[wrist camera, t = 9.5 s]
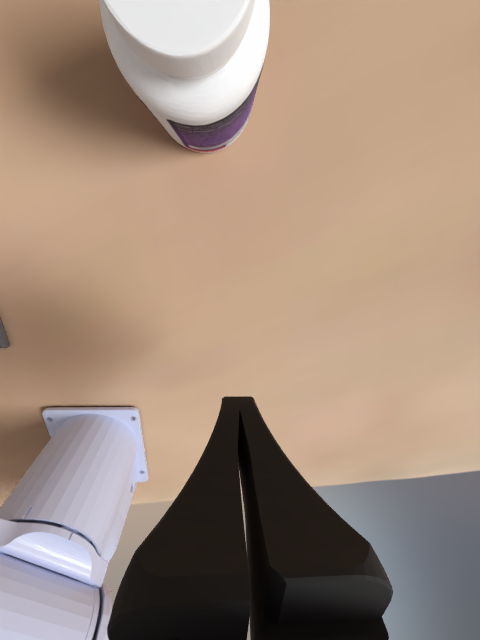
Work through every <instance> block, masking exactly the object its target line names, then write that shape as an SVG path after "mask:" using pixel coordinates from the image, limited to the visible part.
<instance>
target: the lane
mask: <svg viewBox="0 0 480 640" xmlns="http://www.w3.org/2000/svg"><path fill="white" fill-rule="evenodd" d="M9 346H10V343H9V341H8V338H7V335H6V332H5V329H4V327H3V324H2V321H1V318H0V348H7V347H9Z"/></svg>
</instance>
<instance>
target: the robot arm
mask: <svg viewBox="0 0 480 640" xmlns="http://www.w3.org/2000/svg"><path fill="white" fill-rule="evenodd" d="M42 415H43V418H44V421H45V424H46V427H47V429H48V432H49V435H50V438H51V439H50V440H49V441H48V443H47V444H46V446H45V447H44V448H43V450H42V451H41V452H40V454H39V455H38V456H37V458H36V459H35V461H34V462H33V463H32V465H31V466H30V467H29V469H28V470H27V471H26V473H25V474H24V476H23V477H22V478H21V480H20V481H19V482H18V484H17V485H16V486H15V488H14V489H13V491H12V492H11V493H10V495H9V496H8V497H7V499H6V500H5V501H4V503H3V504H2V506H1V507H0V640H108V638H109V640H247V632H248V624H249V617H250V633H251V634H250V635H251V640H388V639H389V636H388V632H387V629H386V627H385V624H384V622H383V619H382V615H383V614H384V612H385V610H386V608H387V607H388V605H389V603H390V601H391V598H392V594H393V590H392V586H391V584H390V581H389V579H388V577H387V574H386V572H385V570H384V568H383V566H382V564H381V563H380V561H379V559H378V557H377V555H376V553H375V552H374V550H373V548H372V546H371V544H370V543H369V542H368V541H366V539H365V538H363V537H362V536H361V535H360V534H359V533H358V532H357V531H355V530H354V529H353V528H352V527H351V526H350V525H348V523H347V522H345V521H344V520H343V519H342V518H341V517H340V516H339V515H338V514H337V513H336V512H335V511H334V510H333V509H332V508H331V507H330V506H329V505H327V503H326V502H325V501H324V500H323V499H322V498H321V497H320V496H319V495H318V494H317V493H316V491H315V490H314V489H313V488H312V487H311V486H310V485H309V484H308V483H307V482H306V480H305V479H304V478H303V477H302V476H301V474H300V473H299V472H298V471H297V469H296V468H295V467H294V466H293V464H292V463H291V462H290V460H289V459H288V458H287V456H286V455H285V454H284V452H283V451H282V449H281V448H280V446H279V445H278V443H277V442H276V440H275V439H274V437H273V435H272V434H271V432H270V430H269V429H268V427H267V425H266V424H265V422H264V420H263V418H262V416H261V414H260V412H259V410H258V408H257V406H256V403H255V401H254V398H253V397H224V398H222V404H221V409H220V413H219V416H218V419H217V422H216V425H215V427H214V430H213V433H212V435H211V437H210V439H209V442H208V444H207V446H206V448H205V450H204V452H203V454H202V456H201V458H200V460H199V462H198V464H197V466H196V467H195V469H194V471H193V473H192V474H191V476H190V478H189V479H188V481H187V482H186V484H185V486H184V487H183V489H182V490H181V492H180V493H179V495H178V496H177V498H176V499H175V501H174V502H173V504H172V505H171V506H170V508H169V509H168V511H167V512H166V513H165V515H164V516H163V517H162V519H161V520H160V522H159V523H158V524H157V525H156V526H155V528H154V529H153V530H152V531H151V533H150V534H149V535H148V536H147V538H146V539H145V540H144V541H143V543H142V544H141V545H140V546H139V547H138V549H137V550H136V551H135V553H134V555H133V557H132V559H131V562H130V564H129V566H128V568H127V570H126V572H125V575H124V577H123V579H122V581H121V584H120V587H119V589H118V592H117V595H116V598H115V601H114V605H113V609H112V597H111V591H110V589H109V587H108V586H107V585H106V584H105V583H103V580H104V576H105V573H106V570H107V567H108V564H109V563H108V562H109V561H110V559H111V558H112V556H113V554H114V552H115V550H116V548H117V545H118V542H119V539H120V536H121V532H122V529H123V526H124V523H125V519H126V516H127V513H128V510H129V507H130V504H131V500H132V497H133V494H134V491H135V488H136V484H137V482H145V481H147V480H148V476H149V475H148V468H147V461H146V455H145V448H144V441H143V435H142V428H141V421H140V415H139V410H138V409H137V408H135V407H53V408H46V409H45V410H44V411H43V412H42ZM132 416H133V417H132ZM134 417H135V418H134ZM238 463H239V464H238ZM239 471H240V478H239ZM240 479H241V486H242V494H243V501H244V510H245V522H246V542H247V551H246V542H245V532H244V522H243V513H242V501H241V490H240ZM111 609H112V610H111Z"/></svg>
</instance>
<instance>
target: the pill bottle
mask: <svg viewBox="0 0 480 640" xmlns="http://www.w3.org/2000/svg"><path fill="white" fill-rule="evenodd" d="M99 2H100V10H101V17H102V22H103V28H104V32H105V35H106V39H107V42H108V45H109V48H110V50H111V53H112V55H113V57H114V60H115V62H116V64H117V66H118V68H119V70H120V72H121V73H122V75H123V77H124V78H125V80H126V81H127V83H128V84H129V85H130V87H131V88H132V90H133V91H134V93H135V94H136V95H137V96H138V98H139V99H140V100H141V101H142V102H143V104H144V105H145V106H146V107H147V108H148V110H149V111H150V112H151V113H152V114H153V115H154V117H155V118H156V119H157V120H158V121H159V123H160V124H161V125H162V126H163V128H164V129H165V130H166V131H167V132H168V134H169V135H171V136H172V137H173V138H174V139H175V140H176V141H177V142H178V143H179V144H181V145H182V146H184V147H186V148H188V149H190V150H192V151H195V152H200V153H213V152H217V151H220V150H223V149H225V148H227V147H228V146H230V145H231V144H232V143H233V142H234V141H235V140H236V139H237V138H238V137H239V136H240V134H241V133H242V131H243V130H244V128H245V126H246V124H247V121H248V119H249V116H250V113H251V109H252V105H253V101H254V97H255V93H256V89H257V86H258V82H259V78H260V75H261V71H262V68H263V65H264V60H265V55H266V50H267V45H268V38H269V28H270V6H269V0H99Z"/></svg>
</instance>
